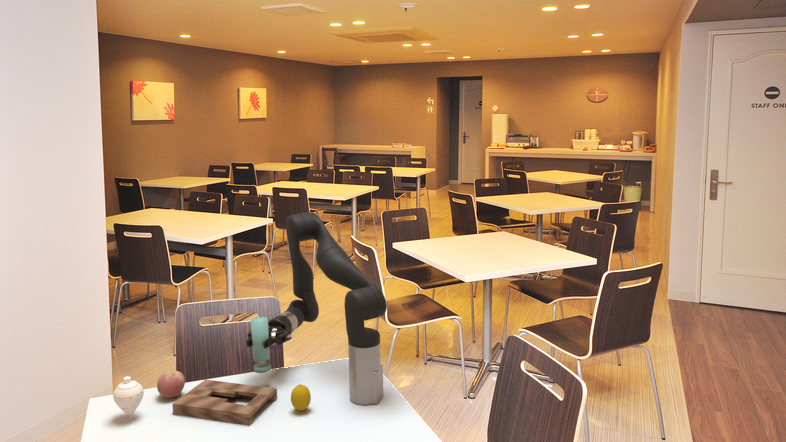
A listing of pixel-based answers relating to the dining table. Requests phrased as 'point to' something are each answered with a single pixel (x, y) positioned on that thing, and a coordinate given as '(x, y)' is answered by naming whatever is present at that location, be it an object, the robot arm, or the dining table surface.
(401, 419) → the dining table surface
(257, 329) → the headed peg
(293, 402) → the lemon
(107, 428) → the dining table surface
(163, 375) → the apple
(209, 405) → the keyhole plate
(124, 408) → the spinning top
